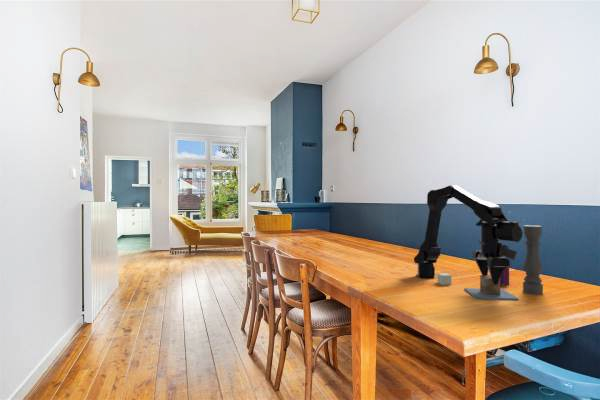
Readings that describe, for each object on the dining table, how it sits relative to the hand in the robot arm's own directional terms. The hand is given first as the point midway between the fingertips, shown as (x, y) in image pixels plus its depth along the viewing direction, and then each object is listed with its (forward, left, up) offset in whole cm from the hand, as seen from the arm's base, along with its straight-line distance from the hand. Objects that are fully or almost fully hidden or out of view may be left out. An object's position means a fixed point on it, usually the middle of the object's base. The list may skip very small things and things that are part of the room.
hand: (490, 281), depth 125 cm
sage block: (-12, +15, -5) cm, 20 cm away
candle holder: (+17, +5, -5) cm, 18 cm away
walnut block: (0, 0, -4) cm, 4 cm away
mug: (+10, +17, -5) cm, 20 cm away
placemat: (0, 0, -5) cm, 5 cm away
